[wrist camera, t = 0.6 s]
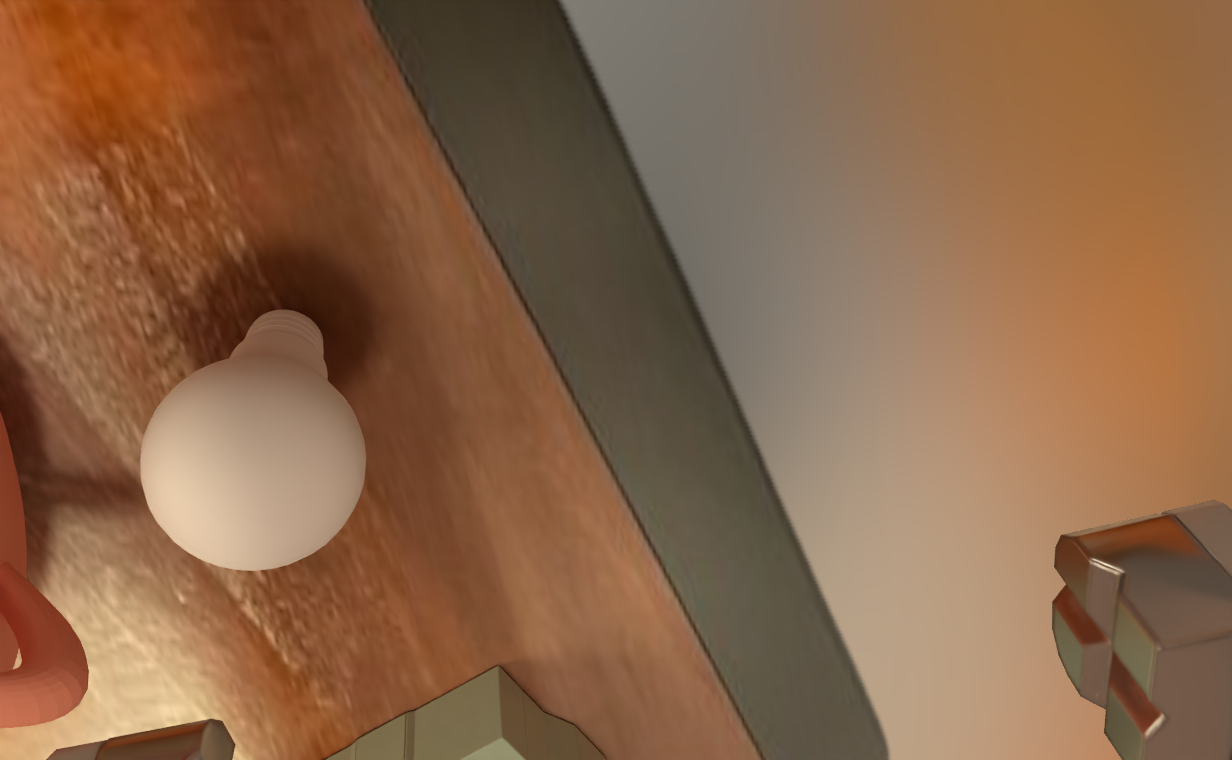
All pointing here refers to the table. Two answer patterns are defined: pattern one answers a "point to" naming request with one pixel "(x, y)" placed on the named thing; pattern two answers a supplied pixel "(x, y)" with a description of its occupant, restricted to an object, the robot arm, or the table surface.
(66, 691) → the teapot
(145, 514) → the table surface
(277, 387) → the lightbulb
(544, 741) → the square stone ashtray
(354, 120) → the table surface
